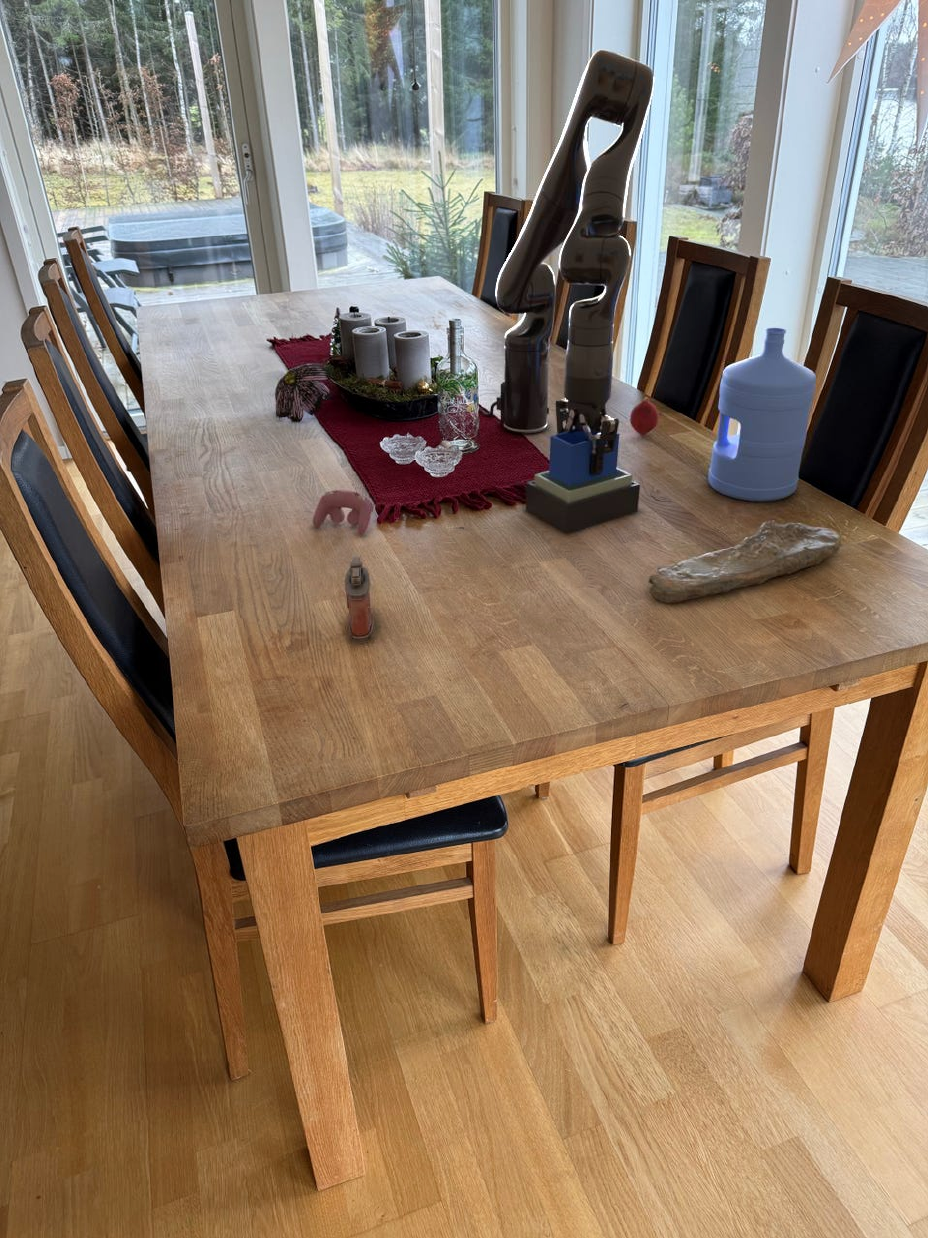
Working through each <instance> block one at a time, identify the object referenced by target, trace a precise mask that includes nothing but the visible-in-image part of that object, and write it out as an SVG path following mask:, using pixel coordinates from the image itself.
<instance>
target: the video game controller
mask: <svg viewBox="0 0 928 1238" xmlns="http://www.w3.org/2000/svg"><path fill="white" fill-rule="evenodd" d="M345 508H346V509H351V511H349V512H348V514H347V516H346V515H345V512H344V510H343V509H345ZM374 508H375V504H374V502H373V500H372V499H370V498H369V497H367V496H365V495H364V494H363V493H360V492H358V491H354V490H348V489H337V490H336V489H335V490H330V491H326V492H325V493H324V494H323V495H322V496H321V497H320V499H319V501H318V503H317V506H316V508H315V511H314V514H313V517H312V524H313V527H314V528H316V529H318V528H320V527H321V526H322V525H323V523H324V522H325V520H326V518H327V517H328V515H329V518H330V520H331V522H333V523H336V524H340V523H343V522H344V520H345V518H346V521H347V523H348V524H349V525H351V526H357V532H358V534H359V535H363V534H364V533H365V532H366V531H367V529H368V528H369V525H370V523H371V518H372V517H371V516H372V514H373V512H374Z"/></svg>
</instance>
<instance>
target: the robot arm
mask: <svg viewBox="0 0 928 1238" xmlns="http://www.w3.org/2000/svg"><path fill="white" fill-rule="evenodd" d="M654 83H655V75H654V72H653V69H652V68H651V67H650V66H649V65H647V64H645V63H643V62H641V61H638V60H635V59H633V58H631V57H628V56H625V55H622V54H619V53H617V52H613V51H610V50H608V49H598V50H596V51H595V52H594V54H593V55H592V56H591V58H590V59H589V60H588V63H587V64H586V67H585V69H584V71H583V73H582V76H581V79H580V82H579V85H578V87H577V91H576V94H575V97H574V99H573V102H572V105H571V108H570V110H569V114H568V116H567V120H566V123H565V126H564V128H563V130H562V134H561V137H560V140H559V142H558V144H557V147H556V149H555V150H554V154H553V156H552V158H551V160H550V163H549V165H548V167H547V169H546V171H545V173H544V176H543V178H542V180H541V183H540V185H539V187H538V190H537V192H536V196H535V198H534V201H533V203H532V206H531V208H530V211H529V214H528V216H527V218H526V221H525V223H524V225H523V227H522V229H521V231H520V233H519V236H518V238H517V240H516V242H515V244H514V246H513V247H512V250H511V252H510V253H509V254H508V257H507V258H506V261H505V262H504V264H503V266H502V267H501V269H500V271H499V274H498V276H497V280H496V285H495V301H496V304H497V307H498V308H499V310H500V311H502V312H503V313H504V314H507V315H512V316H513V315H514V316H515V315H523V316H522V318H521V319H520V320H519V322H517V323H516V324H515V325H514V326H512V327H511V328H510V329H508V330H507V331H506V332H505V333H504V334H505V335H504V357H503V359H504V366H503V367H504V368H503V369H504V374H503V375H504V376H503V377H504V380H503V381H501V382H500V395H499V396H496V401H494V402H492V404H491V405H490V409H489V412H486V411H484V410H483V409H482V408H481V407H480V406H479V411H478V412H479V413H481V414H483V415H485V416H487V417H491V416H493V414H494V410H495V407H496V410H497V411H500V426H501V427H503V428H504V430H506V431H508V432H510V433H515V434H520V435H521V434H523V435H524V434H525V435H527V434H536V433H540V432H543V431H545V430H546V429H547V428H548V415H550V408H549V407H548V400H549V373H550V372H549V371H550V369H549V367H550V366H549V365H550V340H551V338H552V335H553V331H554V322H555V321H554V319H555V308H556V295H557V286H556V278H555V274H554V271H553V270H552V268H551V266H550V265H548V264H547V263H545V262H544V261H545V260H546V259H547V258H548V257H549V256H550V255H551V254H553V253H554V252H555V251H556V250H558V248H559V247H560V246H561V245H562V244H563V245H562V248H561V250H560V253H559V257H558V269H559V273H560V275H561V277H562V279H563V281H564V282H566V283H567V284H570V285H575V286H603V287H604V289H603V292H602V293H601V294H599V295H597V296H595V297H592V298H587V299H581V300H577V301H575V302H573V304H571V306H570V308H569V312H568V333H567V334H568V335H567V346H566V352H565V363H564V364H565V367H564V386H563V387H564V389H563V396H564V398H561V399H558V400H556V401H555V419H556V420H555V421H556V434H560V433H564V432H569V433H573V432H577V431H582V432H583V433H584V436H585V440H586V441H590V452H591V454H590V465H589V474H590V475H592V476H595V475H598V474H600V473H601V472H602V470H603V459H604V454H606V453H609V452H613V451H614V446H615V441H616V436H617V433H618V430H619V425H620V420H619V418H618V417H613V418H612V417H610V416H608V413H607V407H606V404H607V403H608V401H610V398H611V396H612V395H611V394H612V384H613V383H612V380H613V367H614V329H615V319H616V317H615V316H616V310H617V305H618V301H619V297H620V295H621V291H622V288H623V285H624V283H625V280H626V277H627V275H628V271H629V269H630V265H631V261H632V250H631V247H630V244H629V242H628V241H627V240H626V238H624V237H623V236H621V235H614V234H616V233H617V232H619V230H620V229H621V228H622V226H623V224H624V221H625V215H626V207H627V206H626V205H627V201H628V200H627V199H628V191H629V184H630V179H631V174H632V170H633V166H634V163H635V160H636V156H637V153H638V149H639V145H640V143H641V139H642V136H643V131H644V128H645V124H646V120H647V116H648V113H649V110H650V105H651V101H652V97H653V91H654ZM593 118H594V119H596V120H599V121H603V122H605V123H607V124H611V125H614V126H617V127H621V130H620V132H619V135H618V136H617V138H616V139H615V140H614V141H613V142H612V143H611V144H610V145H609V146H608V147H607V148H606V149H604V151H602V152H601V153H600V154H599V155H598V156H597V157H596V158H595V159H594V160H593V161H592V163H591V162H590V157H589V151H588V141H587V127H588V124H589V122H590V120H591V119H593ZM564 421H565V426H564ZM597 430H598V434H597V435H592V434H591V433H593V432H596V431H597ZM596 439H599V445H598V447H596V443H595V440H596ZM606 442H608V444H607V445H606Z"/></svg>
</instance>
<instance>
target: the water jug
mask: <svg viewBox="0 0 928 1238" xmlns="http://www.w3.org/2000/svg"><path fill="white" fill-rule="evenodd" d="M765 333H766V335H765V338H764V342H763V344H764V345H763V350H762V352H761V353H760V354H757V355H754V356H751V357H749V358H745V359H742V360H740V361H737V362H733V363H731V364H729V365H728V366H725V367H724V369H723V371H722V376H721V380H720V383H719V399H718V405H717V408H718V411H719V412H720V413H719V419H718V427H717V436H716V440H715V442H714V443H713V445H712V453H711V458H710V459H711V460H710V466H709V469H708V474H707V475H708V476H707V479H708V483H709V485H710V486H711V488H712V489H713V490H715V491H716V492H718V493H720V494H722V495H724V496H726V497H729V498H733V499H736V500H741V501H747V502H773V501H779V500H782V499H785V498H787V497H789V496H791V495H792V494H793V493H794V492H795V491H796V489H797V488H798V483H799V474H800V473H799V472H800V467H801V461H802V458H803V457H802V456H803V452H804V448H805V445H806V439H807V430H808V424H809V419H810V413H811V410H812V409H811V408H812V403H813V401H814V397H815V392H816V381H817V377H816V374H815V373H814V371H813V370H811V369H809V368H808V367H806V366H805V365H802V364H801V363H799V362H796V361H795V360H793V359H792V358H789V357H787V356H785V355H784V353H783V348H784V344H785V334H786V333H787V329H785V328H781V327H768V328H766V329H765ZM731 419H732V420H734V421H737V422H738V423H739V426H740V429H739V434H733V435H728V433H729V428H730V427H729V426H730V420H731Z"/></svg>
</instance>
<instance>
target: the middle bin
mask: <svg viewBox="0 0 928 1238" xmlns="http://www.w3.org/2000/svg"><path fill="white" fill-rule="evenodd" d="M533 481H534V485H536V486H537V487H539V488H541V489H543V490H545V491H546V492H548V493H550V494H552V495H554V496H555V497H557V498H559V499H561V500H563V501H564V502H566V503H572V502H575V501H578V500H582V499H585V498H589V497H592V496H596V495H599V494H602V493H606V492H609V491H613V490H616V489H620V488H623V487H626V486H630V485H632V481H633V474H632V473H629V472H628V471H625V470H623V469H621V468H619V467H617V472H616V473H615V474H611V475H608V476H604V477H600V478H597V479H593V480H590V481H586V482H583V483H579V484H576V485H572V486H569V485H567V484H565V483H563V482H561V481H559V480H558V479H556V478H554V477H552V476H550V475H549V470H546V471H542V472H538V473H535V474H534V480H533Z"/></svg>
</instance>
